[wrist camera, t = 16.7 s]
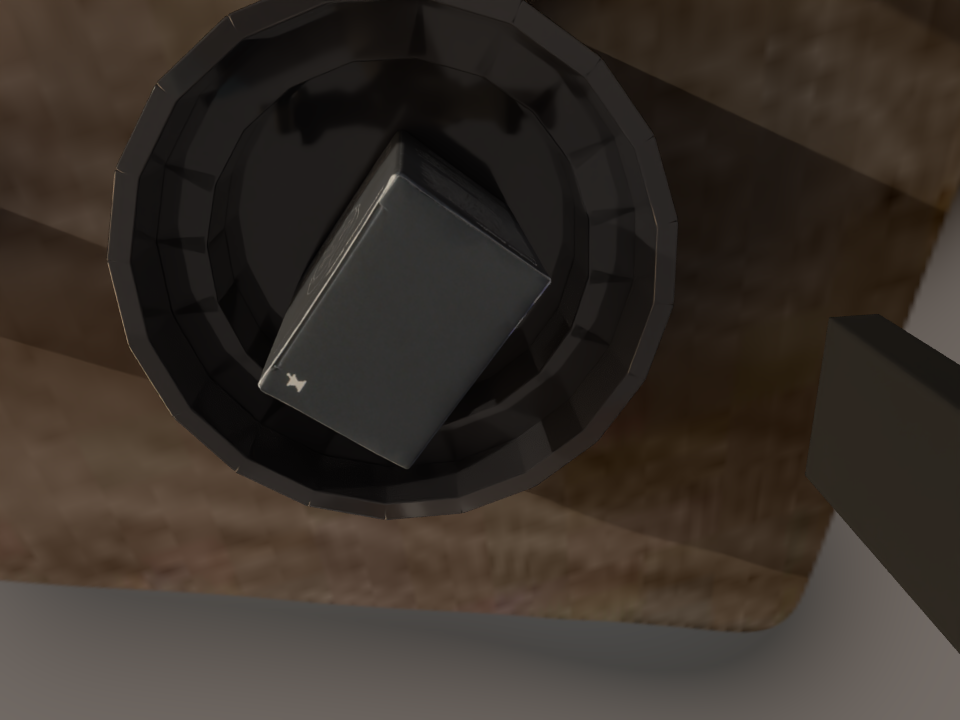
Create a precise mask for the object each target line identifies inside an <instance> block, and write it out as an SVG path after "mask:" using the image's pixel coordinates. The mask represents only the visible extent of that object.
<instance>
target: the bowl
mask: <svg viewBox="0 0 960 720" xmlns="http://www.w3.org/2000/svg"><path fill="white" fill-rule="evenodd" d="M399 130H402V131H406V132H408V134H410V135H411V136H413V137H414V138H416V139H417V140H418V141H420V142H421V143H422V144H424V145H425V146H426V147H428V148H429V149H431V150H432V151H433V152H435V153H436V154H437V155H439V156H440V157H441V158H443V159H444V160H446V161H447V162H448V163H450V164H451V165H452V166H454V167H455V168H456V169H458V170H459V171H461V172H462V173H464V174H465V175H466V176H468V177H469V178H471V179H472V180H473V181H474V182H476V183H477V184H479V185H480V186H482V187H483V188H484V189H486V190H487V191H489V192H490V193H491V194H492V195H494V196H495V197H497V198H498V199H500V200H501V201H502V202H504V203H505V204H507V205H508V206H509V208H510V209H511V211H512V213H513V214H514V216H515V218H516V220H517V221H518V223H519V225H520V227H521V229H522V230H523V232H524V234H525V235H526V237H527V239H528V241H529V242H530V244H531V246H532V247H533V249H534V251H535V253H536V254H537V256H538V258H539V260H540V262H541V263H542V265H543V267H544V269H545V271H546V272H547V273H548V275H549V277H550V278H551V283H550V284H549V285H548V287H547V288H546V289H545V291H544V292H543V293H542V295H541V296H540V297H539V298H538V300H537V301H536V302H535V303H534V305H533V306H532V307H531V308H530V310H529V311H528V312H527V314H526V315H525V317H524V318H523V319H522V320H521V322H520V323H519V324H518V326H517V327H516V328H515V330H514V331H513V332H512V334H511V335H510V336H509V338H508V339H507V340H506V342H505V343H504V344H503V346H502V347H501V348H500V350H499V351H498V352H497V353H496V355H495V356H494V357H493V359H492V360H491V361H490V363H489V364H488V366H487V367H486V368H485V369H484V371H483V372H482V373H481V375H480V376H479V377H478V379H477V380H476V381H475V383H474V384H473V385H472V386H471V388H470V389H469V390H468V392H467V393H466V394H465V396H464V397H463V398H462V400H461V401H460V402H459V404H458V405H457V406H456V408H455V409H454V410H453V412H452V413H451V414H450V415H449V417H448V418H447V419H446V421H445V422H444V424H443V425H442V426H441V428H440V429H439V430H438V431H437V433H436V434H435V435H434V437H433V438H432V439H431V441H430V442H429V443H428V445H427V446H426V448H425V449H424V450H423V452H422V453H421V454H420V456H419V457H418V458H417V459H416V461H415V462H414V463H413V465H412V466H411V467H410V468H409V469H405V468H403V467H401V466H399V465H397V464H395V463H393V462H391V461H389V460H387V459H386V458H384V457H382V456H380V455H378V454H376V453H374V452H372V451H370V450H368V449H367V448H365V447H363V446H361V445H359V444H358V443H356V442H354V441H352V440H351V439H349V438H347V437H345V436H343V435H342V434H340V433H338V432H336V431H334V430H333V429H331V428H329V427H327V426H325V425H324V424H322V423H320V422H318V421H316V420H315V419H313V418H311V417H309V416H307V415H306V414H304V413H302V412H300V411H298V410H296V409H295V408H293V407H291V406H289V405H287V404H285V403H284V402H282V401H280V400H278V399H276V398H274V397H272V396H270V395H268V394H266V393H264V392H262V391H261V390H260V388H259V386H258V383H259V380H260V378H261V375H262V372H263V369H264V367H265V364H266V361H267V359H268V357H269V354H270V352H271V349H272V347H273V344H274V342H275V339H276V337H277V334H278V332H279V329H280V327H281V324H282V322H283V319H284V317H285V314H286V312H287V310H288V307H289V304H290V302H291V300H292V297H293V294H294V292H295V289H296V287H297V285H298V282H299V280H300V279H301V277H302V276H303V274H304V272H305V271H306V269H307V268H308V266H309V265H310V263H311V262H312V260H313V259H314V257H315V256H316V254H317V252H318V251H319V249H320V248H321V246H322V245H323V243H324V242H325V240H326V238H327V237H328V235H329V234H330V232H331V231H332V229H333V227H334V226H335V224H336V223H337V221H338V220H339V218H340V217H341V215H342V214H343V212H344V211H345V209H346V208H347V206H348V205H349V203H350V202H351V200H352V198H353V197H354V195H355V194H356V192H357V191H358V189H359V188H360V186H361V184H362V183H363V181H364V180H365V178H366V177H367V175H368V174H369V172H370V171H371V169H372V168H373V166H374V165H375V163H376V162H377V160H378V159H379V157H380V156H381V154H382V153H383V151H384V150H385V148H386V146H387V145H388V143H389V142H390V140H391V139H392V138H393V136H394V135H395V134H396V132H397V131H399ZM677 220H678V218H677V214H676V210H675V207H674V203H673V199H672V196H671V192H670V189H669V185H668V181H667V178H666V174H665V170H664V167H663V163H662V160H661V156H660V152H659V149H658V145H657V141H656V138H655V137H654V133H653V132H652V130H651V129H650V127H649V126H648V124H647V123H646V121H645V120H644V119H643V117H642V116H641V114H640V113H639V111H638V110H637V108H636V107H635V105H634V104H633V102H632V101H631V100H630V98H629V97H628V95H627V94H626V92H625V91H624V89H623V88H622V86H621V85H620V83H619V82H618V80H617V79H616V78H615V76H614V75H613V73H612V72H611V70H610V69H609V67H608V66H607V64H606V63H605V61H604V60H603V59H601V57H600V56H599V55H598V54H596V53H595V52H593V51H592V50H591V49H589V48H588V47H587V46H585V45H584V44H583V43H581V42H580V41H579V40H577V39H576V38H575V37H573V36H572V35H570V34H569V33H568V32H566V31H565V30H564V29H562V28H561V27H560V26H558V25H557V24H556V23H554V22H553V21H552V20H550V19H549V18H547V17H546V16H545V15H543V14H542V13H541V12H539V11H538V10H537V9H535V8H534V7H533V6H531V5H530V4H529V3H527V2H526V1H524V0H260V1H258V2H255V3H253V4H251V5H248V6H246V7H244V8H241V9H239V10H237V11H234V12H232V13H230V14H229V15H228V16H225V17H224V18H223V19H222V20H221V21H220V22H219V23H218V24H217V25H216V26H215V27H214V28H212V29H211V30H210V31H209V32H208V33H207V34H206V35H205V36H204V37H203V38H202V39H201V40H200V41H199V42H198V43H197V44H196V45H195V46H194V47H193V48H192V49H191V50H190V51H189V52H188V53H186V54H185V55H184V56H183V57H182V58H181V59H180V60H179V61H178V62H177V63H176V64H175V65H174V66H173V67H172V68H171V69H170V70H169V71H168V72H167V73H166V74H165V75H164V76H163V77H161V78H160V79H159V80H158V81H157V84H156V85H155V86H154V88H153V90H152V92H151V94H150V96H149V98H148V100H147V102H146V105H145V107H144V109H143V111H142V113H141V115H140V117H139V119H138V121H137V123H136V126H135V128H134V130H133V132H132V134H131V136H130V138H129V140H128V142H127V145H126V147H125V149H124V151H123V153H122V155H121V157H120V159H119V161H118V163H117V166H116V170H115V171H114V182H113V193H112V204H111V215H110V226H109V237H108V248H107V260H108V261H107V263H108V267H109V271H110V275H111V279H112V283H113V287H114V291H115V295H116V299H117V303H118V307H119V311H120V315H121V319H122V323H123V327H124V331H125V335H126V339H127V343H128V345H129V348H130V350H131V351H132V353H133V355H134V356H135V358H136V359H137V361H138V363H139V364H140V366H141V367H142V369H143V371H144V372H145V374H146V375H147V377H148V379H149V380H150V382H151V383H152V385H153V387H154V388H155V390H156V391H157V393H158V395H159V396H160V398H161V399H162V401H163V403H164V404H165V406H166V407H167V409H168V411H169V412H170V414H171V415H172V417H174V418H175V420H177V421H178V422H179V423H180V424H181V425H182V426H183V427H185V428H186V429H187V430H188V431H189V432H190V433H191V434H193V435H194V436H195V437H196V438H197V439H198V440H199V441H201V442H202V443H203V444H204V445H205V446H206V447H207V448H209V449H210V450H211V451H212V452H213V453H214V454H215V455H217V456H218V457H219V458H220V459H221V460H222V461H223V462H225V463H226V464H227V465H228V466H229V467H230V468H231V469H233V470H234V471H236V473H238V474H240V475H242V476H244V477H247V478H249V479H251V480H253V481H255V482H257V483H259V484H261V485H263V486H266V487H268V488H270V489H272V490H274V491H276V492H278V493H280V494H282V495H285V496H287V497H289V498H291V499H293V500H295V501H297V502H299V503H302V504H304V505H306V506H308V505H309V506H310V507H315V508H321V509H327V510H332V511H338V512H344V513H349V514H355V515H361V516H366V517H372V518H377V519H383V520H384V519H386V520H392V519H403V518H414V517H426V516H437V515H449V514H460V513H462V512H463V513H465V512H468V511H470V510H473V509H476V508H478V507H481V506H484V505H487V504H489V503H492V502H495V501H497V500H500V499H503V498H506V497H508V496H511V495H514V494H517V493H519V492H522V491H525V490H527V489H530V488H533V487H534V486H537V485H538V484H539V483H541V482H542V481H544V480H545V479H546V478H548V477H549V476H550V475H552V474H553V473H555V472H556V471H557V470H559V469H560V468H562V467H563V466H564V465H566V464H567V463H569V462H570V461H571V460H573V459H574V458H575V457H577V456H578V455H580V454H581V453H582V452H584V451H585V450H587V449H588V448H589V447H591V446H592V445H593V444H595V443H596V442H597V441H598V440H599V439H600V438H601V436H602V435H603V434H604V432H605V431H606V430H607V429H608V427H609V426H610V425H611V423H612V422H613V421H614V420H615V418H616V417H617V416H618V415H619V413H620V412H621V411H622V409H623V408H624V407H625V406H626V404H627V403H628V402H629V400H630V399H631V398H632V397H633V395H634V394H635V393H636V391H637V390H638V389H639V388H640V386H641V385H642V384H643V382H644V381H645V379H646V377H647V374H648V372H649V369H650V366H651V364H652V361H653V359H654V356H655V353H656V351H657V348H658V345H659V343H660V340H661V338H662V335H663V332H664V330H665V327H666V324H667V322H668V319H669V317H670V314H671V311H672V309H673V304H674V293H675V274H676V256H677V237H678V221H677Z"/></svg>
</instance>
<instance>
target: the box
mask: <svg viewBox="0 0 960 720" xmlns="http://www.w3.org/2000/svg"><path fill="white" fill-rule="evenodd" d="M550 283H551V278H550V277H549V275H548V273H547V272H546V271H545V269H544V267H543V265H542V263H541V262H540V260H539V258H538V256H537V254H536V253H535V251H534V249H533V247H532V246H531V244H530V242H529V241H528V239H527V237H526V235H525V234H524V232H523V230H522V229H521V227H520V225H519V223H518V221H517V220H516V218H515V216H514V214H513V213H512V211H511V209H510V208H509V206H508V205H507V204H505V203H504V202H502V201H501V200H500V199H498V198H497V197H495V196H494V195H492V194H491V193H490V192H489V191H487V190H486V189H484V188H483V187H482V186H480V185H479V184H477V183H476V182H474V181H473V180H472V179H471V178H469V177H468V176H466V175H465V174H464V173H462V172H461V171H459V170H458V169H456V168H455V167H454V166H452V165H451V164H450V163H448V162H447V161H446V160H444V159H443V158H441V157H440V156H439V155H437V154H436V153H435V152H433V151H432V150H431V149H429V148H428V147H426V146H425V145H424V144H422V143H421V142H420V141H418V140H417V139H416V138H414V137H413V136H411V135H410V134H408V132H406V131H402V130H399V131H397V132H396V134H395V135H394V136H393V138H392V139H391V140H390V142H389V143H388V145H387V146H386V148H385V150H384V151H383V153H382V154H381V156H380V157H379V159H378V160H377V162H376V163H375V165H374V166H373V168H372V169H371V171H370V172H369V174H368V175H367V177H366V178H365V180H364V181H363V183H362V184H361V186H360V188H359V189H358V191H357V192H356V194H355V195H354V197H353V198H352V200H351V202H350V203H349V205H348V206H347V208H346V209H345V211H344V212H343V214H342V215H341V217H340V218H339V220H338V221H337V223H336V224H335V226H334V227H333V229H332V231H331V232H330V234H329V235H328V237H327V238H326V240H325V242H324V243H323V245H322V246H321V248H320V249H319V251H318V252H317V254H316V256H315V257H314V259H313V260H312V262H311V263H310V265H309V266H308V268H307V269H306V271H305V272H304V274H303V276H302V277H301V279H300V280H299V282H298V285H297V287H296V289H295V292H294V294H293V297H292V300H291V302H290V304H289V307H288V310H287V312H286V314H285V317H284V319H283V322H282V324H281V327H280V329H279V332H278V334H277V337H276V339H275V342H274V344H273V347H272V349H271V352H270V354H269V357H268V359H267V361H266V364H265V367H264V369H263V372H262V375H261V378H260V380H259V383H258V386H259V388H260V390H261V391H262V392H264V393H266V394H268V395H270V396H272V397H274V398H276V399H278V400H280V401H282V402H284V403H285V404H287V405H289V406H291V407H293V408H295V409H296V410H298V411H300V412H302V413H304V414H306V415H307V416H309V417H311V418H313V419H315V420H316V421H318V422H320V423H322V424H324V425H325V426H327V427H329V428H331V429H333V430H334V431H336V432H338V433H340V434H342V435H343V436H345V437H347V438H349V439H351V440H352V441H354V442H356V443H358V444H359V445H361V446H363V447H365V448H367V449H368V450H370V451H372V452H374V453H376V454H378V455H380V456H382V457H384V458H386V459H387V460H389V461H391V462H393V463H395V464H397V465H399V466H401V467H403V468H405V469H409V468H410V467H411V466H412V465H413V463H414V462H415V461H416V459H417V458H418V457H419V456H420V454H421V453H422V452H423V450H424V449H425V448H426V446H427V445H428V443H429V442H430V441H431V439H432V438H433V437H434V435H435V434H436V433H437V431H438V430H439V429H440V428H441V426H442V425H443V424H444V422H445V421H446V419H447V418H448V417H449V415H450V414H451V413H452V412H453V410H454V409H455V408H456V406H457V405H458V404H459V402H460V401H461V400H462V398H463V397H464V396H465V394H466V393H467V392H468V390H469V389H470V388H471V386H472V385H473V384H474V383H475V381H476V380H477V379H478V377H479V376H480V375H481V373H482V372H483V371H484V369H485V368H486V367H487V366H488V364H489V363H490V361H491V360H492V359H493V357H494V356H495V355H496V353H497V352H498V351H499V350H500V348H501V347H502V346H503V344H504V343H505V342H506V340H507V339H508V338H509V336H510V335H511V334H512V332H513V331H514V330H515V328H516V327H517V326H518V324H519V323H520V322H521V320H522V319H523V318H524V317H525V315H526V314H527V312H528V311H529V310H530V308H531V307H532V306H533V305H534V303H535V302H536V301H537V300H538V298H539V297H540V296H541V295H542V293H543V292H544V291H545V289H546V288H547V287H548V285H549V284H550Z"/></svg>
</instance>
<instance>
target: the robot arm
mask: <svg viewBox="0 0 960 720" xmlns="http://www.w3.org/2000/svg"><path fill="white" fill-rule="evenodd" d="M805 476H806V477H807V478H808V479H809V480H810V482H811V483H812V484H813V485H814V486H815V487H816V488H817V490H818V491H819V492H820V493H821V494H822V495H823V497H824V498H825V499H826V500H827V501H828V502H829V503H830V505H831V506H832V507H833V508H834V509H835V510H836V512H837V513H838V514H839V515H840V516H841V517H842V518H843V520H844V521H845V522H846V523H847V524H848V525H849V526H850V528H851V529H852V530H853V531H854V532H855V533H856V535H857V536H858V537H859V538H860V539H861V540H862V541H863V543H864V544H865V545H866V546H867V547H868V548H869V549H870V551H871V552H872V553H873V554H874V555H875V556H876V558H877V559H878V560H879V561H880V562H881V563H882V565H883V566H884V567H885V568H886V569H887V570H888V572H889V573H890V574H891V575H892V576H893V577H894V578H895V580H896V581H897V582H898V583H899V584H900V585H901V587H902V588H903V589H904V590H905V591H906V592H907V593H908V595H909V596H910V597H911V598H912V599H913V600H914V602H915V603H916V604H917V605H918V606H919V607H920V609H922V611H923V612H924V613H925V614H926V615H927V617H928V618H929V619H930V620H931V621H932V622H933V624H934V625H935V626H936V627H937V628H938V629H939V630H940V632H941V633H942V634H943V635H944V636H945V637H946V638H947V640H948V641H949V642H950V643H951V644H952V645H953V647H954V648H955V649H956V650H957V651H958V652H959V654H960V365H959V364H957V363H956V362H954V361H952V360H951V359H949V358H947V357H946V356H944V355H943V354H941V353H940V352H938V351H937V350H935V349H933V348H932V347H930V346H929V345H927V344H925V343H924V342H922V341H921V340H919V339H917V338H916V337H914V336H913V335H911V334H910V333H908V332H906V331H905V330H903V329H902V328H900V327H898V326H897V325H895V324H894V323H892V322H891V321H889V320H887V319H886V318H884V317H883V316H881V315H879V314H872V315H858V316H844V317H830V318H829V322H828V328H827V335H826V341H825V348H824V354H823V361H822V367H821V374H820V380H819V387H818V393H817V400H816V407H815V413H814V420H813V426H812V433H811V439H810V446H809V452H808V459H807V465H806V472H805Z"/></svg>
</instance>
